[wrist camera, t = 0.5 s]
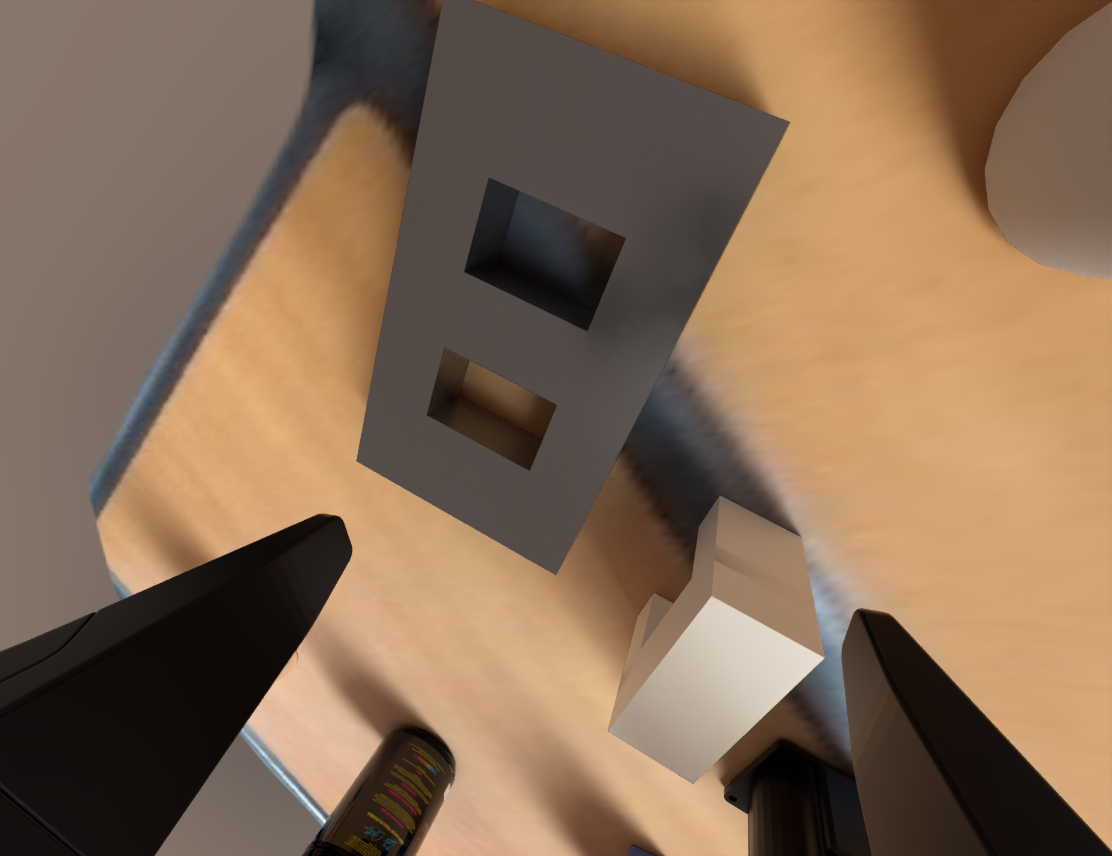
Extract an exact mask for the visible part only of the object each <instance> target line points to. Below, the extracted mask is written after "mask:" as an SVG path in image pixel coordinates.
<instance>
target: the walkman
mask: <svg viewBox="0 0 1112 856" xmlns="http://www.w3.org/2000/svg"><path fill="white" fill-rule="evenodd" d="M629 856H655V855H652V854H650V853H648V852H646V851H644V850H641V849H639V848H637V847H635V846H633V845H632V847H631V850H630V854H629Z"/></svg>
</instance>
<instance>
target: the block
mask: <svg viewBox="0 0 1112 856" xmlns="http://www.w3.org/2000/svg"><path fill="white" fill-rule="evenodd" d="M823 659H824V652H823V647H822V642H821V637H820V631H819V626H818V621H817V616H816V610H815V605H814V600H813V595H812V589H811V584H810V579H809V574H808V568H807V563H806V558H805V553H804V547H803V542H802V537H800V536H798V535H796V534H794V533H792V532H790V531H788V530H786V529H784V528H782V527H780V526H778V525H777V524H775V523H773V522H771V521H769V520H767V519H765V518H763V517H761V516H759V515H757V514H755V513H753V512H751V511H749V510H747V509H745V508H743V507H742V506H740V505H738V504H736V503H734V502H732V501H730V500H728V499H726V498H724V497H722V496H719V497H718V499H717V500H716V502H715V503H714V505H713V506H712V508H711V509H710V511H709V512H708V514H707V515H706V517H705V518H704V520H703V521H702V522H701V524H700V525H699V530H698V537H697V544H696V551H695V559H694V566H693V573H692V579H691V580H690V582H689V583H688V584H687V586H686V587H685V588H684V590H683V591H682V593H681V594H680V595H679V597H678V598H677V600H676V601H675V602H674V604H673V603H672V602H670V601H668V600H666V599H664V598H663V597H661V596H659V595H657V594H655V593H653V595H652V596H651V598H650V599H649V601H648V602H647V603H646V605H645V606H644V608H643V609H642V611H641V612H640V614H639V615H638V618H637V622H636V625H635V629H634V633H633V637H632V640H631V644H630V648H629V652H628V656H627V659H626V663H625V667H624V671H623V674H622V678H621V682H620V686H619V689H618V693H617V697H616V701H615V705H614V708H613V712H612V716H611V720H610V723H609V727H608V732H609V733H611V734H613V735H614V736H616V737H618V738H619V739H621V740H622V741H624V742H626V743H627V744H629V745H631V746H632V747H634V748H635V749H637V750H639V751H640V752H642V753H644V754H645V755H647V756H649V757H650V758H652V759H653V760H655V761H657V762H658V763H660V764H662V765H663V766H665V767H666V768H668V769H670V770H671V771H673V772H675V773H676V774H678V775H679V776H681V777H683V778H684V779H686V780H688V781H689V782H691V783H692V784H694V783H695V782H696V781H697V780H698V779H699V778H700V777H701V776H702V775H703V774H704V773H705V772H706V771H707V770H708V769H709V768H710V767H711V766H712V765H713V764H714V763H716V762H717V761H718V760H719V759H720V758H721V757H722V756H723V755H724V754H725V753H726V752H727V751H728V750H729V749H730V748H731V747H732V746H733V745H734V744H735V743H736V742H737V741H738V740H740V739H741V738H742V737H743V736H744V735H745V734H746V733H747V732H748V731H749V730H750V729H751V728H752V727H753V726H754V725H755V724H756V723H757V722H758V721H759V720H760V719H761V718H762V717H764V716H765V715H766V714H767V713H768V712H769V711H770V710H771V709H772V708H773V707H774V706H775V705H776V704H777V703H778V702H779V701H780V700H781V699H782V698H783V697H784V696H785V695H786V694H788V693H789V692H790V691H791V690H792V689H793V688H794V687H795V686H796V685H797V684H798V683H799V682H800V681H801V680H802V679H803V678H804V677H805V676H806V675H807V674H808V673H809V672H811V671H812V670H813V669H814V668H815V667H816V666H817V665H818V664H819V663H820V662H821V661H822V660H823Z"/></svg>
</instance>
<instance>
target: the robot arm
mask: <svg viewBox="0 0 1112 856" xmlns="http://www.w3.org/2000/svg"><path fill="white" fill-rule="evenodd" d="M351 556H352V545H351V542H350V539H349V536H348V533H347V530H346V527H345V524H344V522H343V520H342V519H341V518H340V517H339V516H335V515H329V514H318V515H315V516H313V517H310V518H308V519H306V520H304V521H301V522H299V523H297V524H294V525H292V526H290V527H288V528H285V529H283V530H281V531H278V532H276V533H274V534H272V535H269V536H267V537H265V538H262V539H260V540H258V541H255V542H253V543H251V544H249V545H246V546H244V547H242V548H239V549H237V550H235V551H233V552H230V553H228V554H226V555H223V556H221V557H219V558H217V559H214V560H212V561H210V562H207V563H205V564H203V565H201V566H198V567H196V568H194V569H191V570H189V571H187V572H185V573H182V574H180V575H178V576H175V577H173V578H171V579H168V580H166V581H164V582H162V583H159V584H157V585H155V586H152V587H150V588H148V589H146V590H143V591H141V592H139V593H136V594H134V595H132V596H130V597H127V598H125V599H123V600H120V601H118V602H116V603H114V604H111V605H109V606H107V607H104V608H102V609H100V610H99V611H98V612H93V613H90V614H88V615H86V616H84V617H81V618H79V619H77V620H74V621H72V622H70V623H68V624H65V625H63V626H61V627H58V628H56V629H53V630H51V631H49V632H46V633H44V634H42V635H39V636H37V637H35V638H32V639H30V640H28V641H25V642H23V643H20V644H18V645H15V646H13V647H10V648H8V649H6V650H3V651H0V856H155V854H156V853H157V851H158V850H159V849H160V847H161V846H162V844H163V843H164V841H165V840H166V838H167V837H168V836H169V834H170V833H171V831H172V830H173V828H174V827H175V825H176V824H177V822H178V821H179V819H180V818H181V817H182V815H183V813H184V812H185V811H186V809H187V808H188V806H189V805H190V804H191V802H192V801H193V799H194V798H195V796H196V795H197V793H198V792H199V791H200V789H201V788H202V786H203V785H204V783H205V782H206V780H207V779H208V777H209V776H210V774H211V773H212V772H213V770H214V769H215V767H216V766H217V764H218V763H219V762H220V760H221V759H222V757H223V756H224V754H225V753H226V751H227V750H228V748H229V747H230V746H231V744H232V743H233V741H234V740H235V738H236V737H237V735H238V734H239V733H240V731H241V730H242V728H243V727H244V725H245V724H246V722H247V721H248V719H249V718H250V717H251V715H252V714H253V712H254V711H255V709H256V708H257V706H258V705H259V704H260V702H261V701H262V699H263V698H264V696H265V695H266V693H267V692H268V690H269V689H270V688H271V686H272V685H273V683H274V682H275V680H276V679H277V677H278V676H279V675H280V673H281V672H282V670H283V669H284V667H285V666H286V664H287V663H288V661H289V660H290V659H291V657H292V656H293V654H294V653H295V651H296V650H297V648H298V647H299V645H300V644H301V643H302V641H303V640H304V638H305V637H306V635H307V634H308V632H309V631H310V629H311V627H312V626H313V624H314V622H315V621H316V619H317V617H318V616H319V614H320V612H321V610H322V608H323V607H324V605H325V603H326V601H327V600H328V598H329V596H330V594H331V593H332V591H333V589H334V587H335V586H336V584H337V582H338V580H339V578H340V577H341V575H342V573H343V571H344V570H345V568H346V566H347V564H348V563H349V561H350V559H351ZM841 659H842V669H843V678H844V687H845V697H846V706H847V715H848V724H849V733H850V743H851V752H852V759H853V767H854V773H855V778H856V780H855V779H853V778H851V777H850V776H848V775H846V774H844V773H843V772H841V771H839V770H838V769H836V768H834V767H832V766H831V765H829V764H827V763H826V762H824V761H822V760H820V759H819V758H817V757H815V756H813V755H812V754H810V753H808V752H807V751H805V750H803V749H801V748H800V747H798V746H796V745H795V744H793V743H791V742H789V741H787V740H778V741H776V742H775V743H774V744H773V745H772V746H771V747H770V748H768V749H767V750H766V751H765V752H764V753H763V754H762V755H761V756H760V757H758V758H757V759H756V760H755V761H754V762H753V763H752V764H751V765H749V766H748V767H747V768H746V769H745V770H744V771H743V772H742V773H740V774H739V775H738V776H737V777H736V778H735V779H734V780H733V781H732V782H730V783H729V784H728V785H727V786H726V787H725V788H724V798H725V800H726V801H727V802H729V803H730V804H732V805H733V806H735V807H737V808H738V809H740V810H742V811H743V812H745V813H747V814H748V856H1112V851H1111V850H1110V848H1109V847H1108V846H1107V845H1106V844H1105V843H1104V842H1103V841H1102V840H1101V839H1100V838H1099V837H1098V836H1097V835H1096V833H1095V832H1094V831H1093V830H1092V829H1091V828H1090V827H1089V826H1088V825H1087V824H1086V823H1085V822H1084V821H1083V819H1082V818H1081V817H1080V816H1079V815H1078V814H1077V813H1076V812H1075V811H1074V810H1073V809H1072V808H1071V807H1070V806H1069V804H1068V803H1067V802H1066V801H1065V800H1064V799H1063V798H1062V797H1061V796H1060V795H1059V794H1058V793H1057V792H1056V791H1055V789H1054V788H1053V787H1052V786H1051V785H1050V784H1049V783H1048V782H1047V781H1046V780H1045V779H1044V778H1043V777H1042V776H1041V774H1040V773H1039V772H1038V771H1037V770H1036V769H1035V768H1034V767H1033V766H1032V765H1031V764H1030V763H1029V762H1028V761H1027V759H1026V758H1025V757H1024V756H1023V755H1022V754H1021V753H1020V752H1019V751H1018V750H1017V749H1016V748H1015V747H1014V746H1013V744H1012V743H1011V742H1010V741H1009V740H1008V739H1007V738H1006V737H1005V736H1004V735H1003V734H1002V733H1001V732H1000V731H999V729H998V728H997V727H996V726H995V725H994V724H993V723H992V722H991V721H990V720H989V719H988V718H987V717H986V716H985V714H984V713H983V712H982V711H981V710H980V709H979V708H978V707H977V706H976V705H975V704H974V703H973V702H972V701H971V699H970V698H969V697H968V696H967V695H966V694H965V693H964V692H963V691H962V690H961V689H960V688H959V687H958V685H957V684H956V683H955V682H954V681H953V680H952V679H951V678H950V677H949V676H948V675H947V674H946V673H945V672H944V670H943V669H942V668H941V667H940V666H939V665H938V664H937V663H936V662H935V661H934V660H933V659H932V658H931V657H930V655H929V654H928V653H927V652H926V651H925V650H924V649H923V648H922V647H921V646H920V645H919V644H918V643H917V642H916V640H915V639H914V638H913V637H912V636H911V635H910V634H909V633H908V632H907V631H906V630H905V629H904V628H903V627H902V625H901V624H900V623H899V622H898V621H897V620H896V619H895V618H894V617H893V616H891V615H890V614H888V613H885V612H880V611H874V610H869V609H863V608H860V609H857V610H856V611H855V612H854V614H853V616H852V619H851V622H850V625H849V627H848V630H847V633H846V636H845V639H844V642H843V645H842V653H841Z"/></svg>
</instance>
